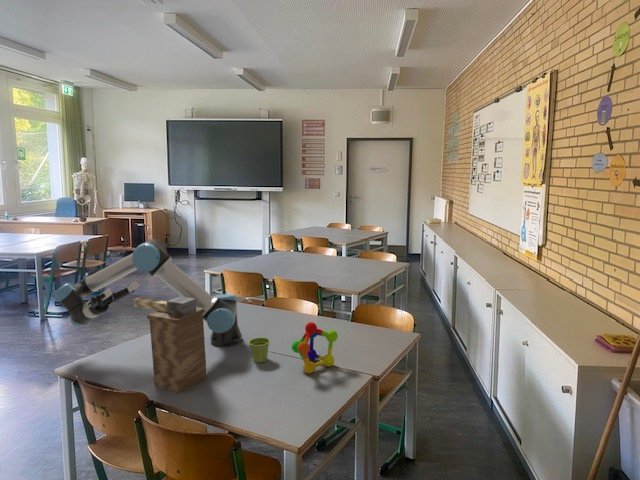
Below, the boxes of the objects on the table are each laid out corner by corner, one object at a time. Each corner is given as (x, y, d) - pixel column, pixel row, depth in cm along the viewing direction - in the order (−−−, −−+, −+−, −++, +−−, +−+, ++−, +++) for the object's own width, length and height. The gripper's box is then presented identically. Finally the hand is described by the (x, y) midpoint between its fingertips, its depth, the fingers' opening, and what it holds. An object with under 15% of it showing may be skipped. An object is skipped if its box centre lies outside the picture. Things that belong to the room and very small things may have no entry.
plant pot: (245, 363, 199) (244, 343, 198) (255, 354, 208) (254, 336, 207) (264, 365, 196) (264, 346, 195) (274, 357, 205) (273, 338, 204)
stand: (208, 377, 186) (204, 308, 181) (182, 394, 173) (177, 319, 168) (180, 371, 192) (175, 304, 188) (152, 386, 179) (147, 314, 175)
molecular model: (304, 379, 181) (302, 329, 180) (280, 371, 192) (277, 324, 191) (341, 365, 196) (339, 318, 194) (316, 357, 207) (314, 314, 205)
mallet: (196, 311, 178) (195, 298, 177) (183, 316, 172) (182, 303, 171) (143, 303, 190) (142, 291, 190) (130, 307, 184) (129, 295, 183)
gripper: (123, 306, 209) (151, 288, 200) (73, 323, 187) (102, 303, 178) (116, 292, 210) (144, 272, 200) (65, 306, 188) (94, 286, 178)
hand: (124, 287), depth 189 cm, fingers open, 13 cm apart
